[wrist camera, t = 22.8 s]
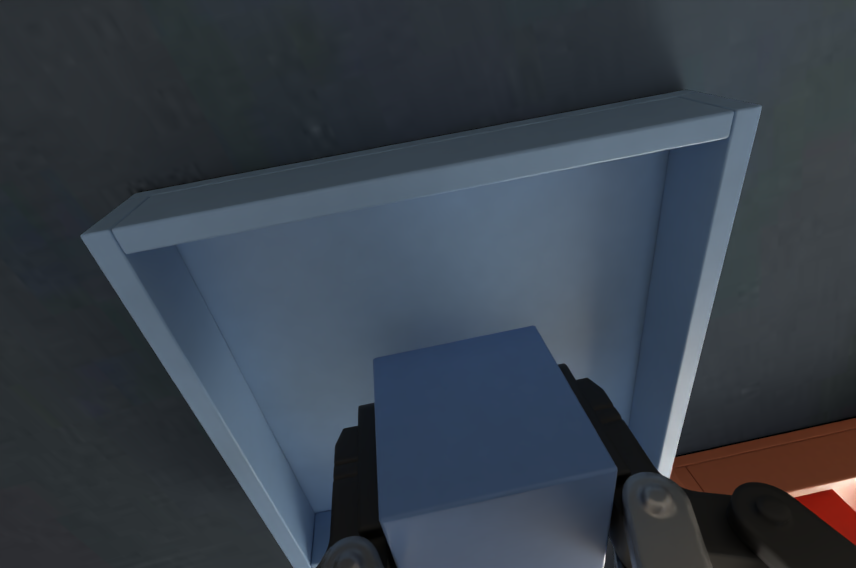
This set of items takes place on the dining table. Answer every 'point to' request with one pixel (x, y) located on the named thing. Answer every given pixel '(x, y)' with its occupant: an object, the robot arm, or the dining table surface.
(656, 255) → the blue tray
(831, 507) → the red block
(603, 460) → the blue block
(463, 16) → the dining table surface
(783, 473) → the orange tray
